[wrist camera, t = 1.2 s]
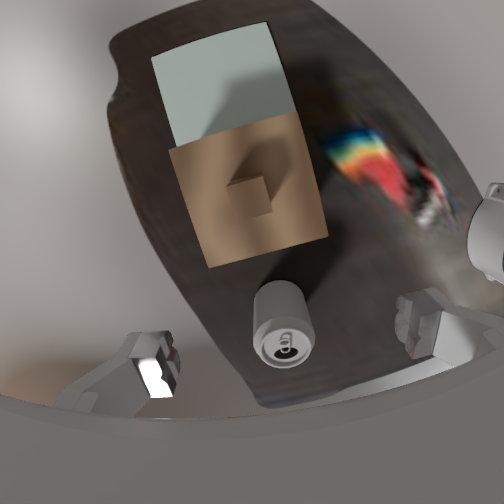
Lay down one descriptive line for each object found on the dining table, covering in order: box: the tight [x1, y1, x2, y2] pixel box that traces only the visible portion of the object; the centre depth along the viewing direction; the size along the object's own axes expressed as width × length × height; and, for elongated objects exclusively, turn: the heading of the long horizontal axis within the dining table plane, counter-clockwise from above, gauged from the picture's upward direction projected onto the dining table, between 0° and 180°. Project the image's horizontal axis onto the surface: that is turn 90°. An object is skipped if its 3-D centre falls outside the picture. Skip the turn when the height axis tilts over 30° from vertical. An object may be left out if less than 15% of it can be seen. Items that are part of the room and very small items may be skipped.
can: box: [253, 280, 315, 368], centre depth 38 cm, size 8×8×12 cm
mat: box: [151, 22, 296, 147], centre depth 33 cm, size 16×14×1 cm
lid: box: [169, 112, 328, 268], centre depth 27 cm, size 13×13×5 cm
